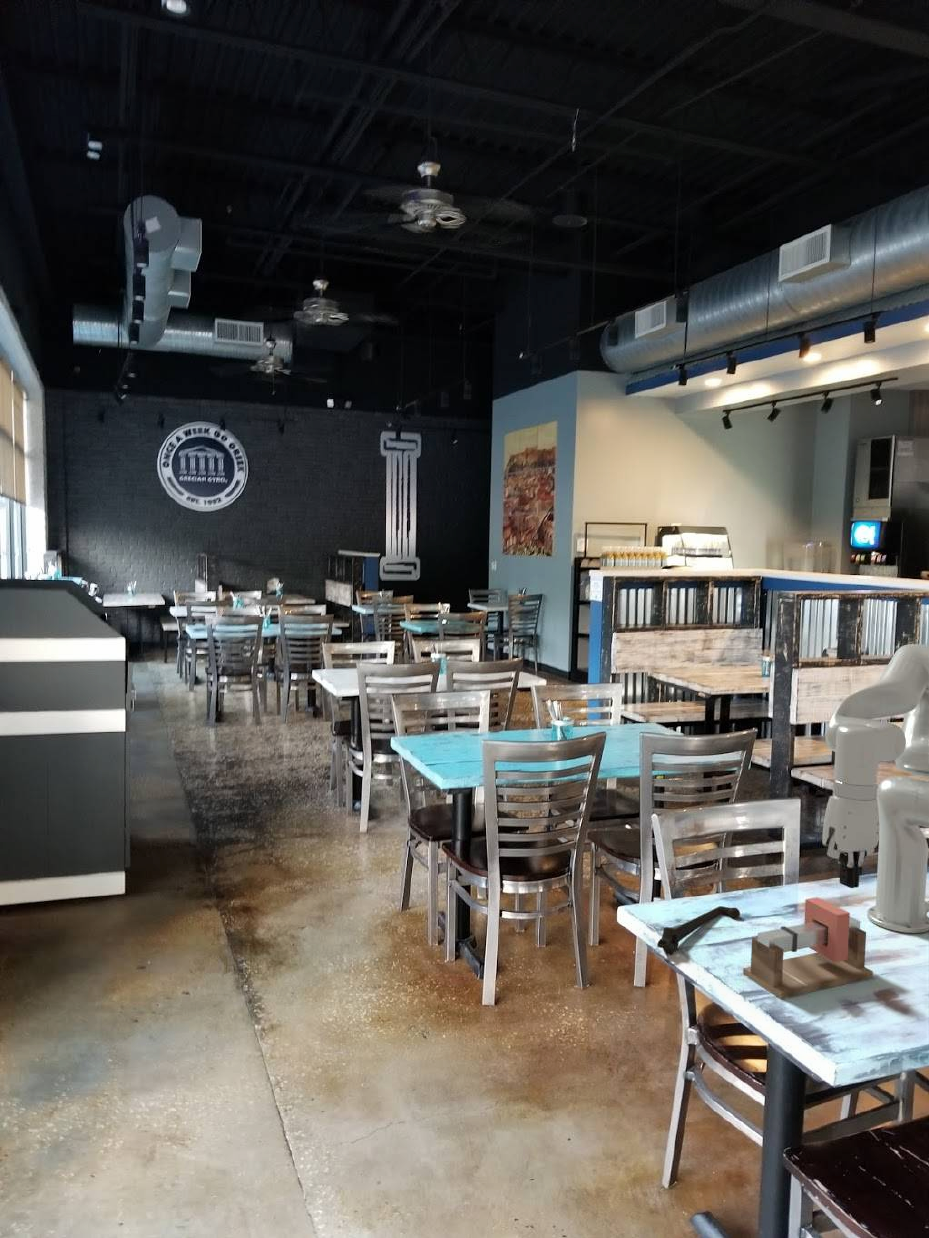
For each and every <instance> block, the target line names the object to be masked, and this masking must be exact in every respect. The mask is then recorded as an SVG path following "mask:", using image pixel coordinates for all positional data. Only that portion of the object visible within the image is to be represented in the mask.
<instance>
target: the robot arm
mask: <svg viewBox="0 0 929 1238" xmlns="http://www.w3.org/2000/svg"><path fill="white" fill-rule="evenodd" d="M901 715H904V717H903V721H902V724H901V727H900V726H899V725H897V724H895V723H891V722H887V721H881V720H875V719H882V718H888V717H895V716H901ZM824 733H825V735H824V737H825V743H826V746H828V748H829V750H830V751H832V752H834V753H835V754H834V766H833V768H834V771H833V785H832V786H833V787H832V795H830V796H829V798H828V801H827V804H826V809H825V814H824V820H823V828H822V841H821V842H822V845H823V846H824V847H827V851H826V855H827V856H828V857H830V858H832V859H836V860H837V862H838V863H837V864H840V867H839V868H840V869H839V884H841V885H843V886H845V887H847V888H850V889H855V888H859V885H860V870H861V867H862V866H863V865H864V860H865V858H867V856H869V855H871V854H873V853H874V852H875V848H877V846H878V855H877V857H878V858H877V874H876V892H875V905H874V906H871V907H869V908H868V909H867V915H866V917H867V918H868V919H869V921H870V922H872V923H873V924H874V925H877V926H879V927H881V928H884V929H887V930H890V931H894V932H898V933H906V934H921V933H925V932H928V931H929V916H928V913H929V900H928V901H926V893H927V891H926V890H927V876H928V874H927V873H928V872H927V871H928V859H929V857H928V855H929V846H928V845H929V844H928V842H927V839H926V836H925V835H924V833H923V831H922V830H921V827H923V828H929V780H924V779H917V778H913V777H908V776H901V775H899V776H896V775H894V776H888V777H886V778H884V779H882V780H881V781H880V783H879V784H878V771H879V770H878V769H879V763H880V762H885V763H886V762H889V763H890V762H893V761H894V762H895V765H896V768H898V769H899V770H900V771H901V772H902V773H903V772H904V773H906V774H910V775H914V776H918V777H923V778H927V779H928V778H929V644H924V643H923V644H921V643H909V644H905V645H903V646H900V647H899V648H898V649H897V650H896V651H895V652H894V654H893V656H892V657H891V659H890V661H889V663H888V664H887V666H886V667H885V669H884V671H883V673H882V675H881V677H880V678H879V680H878V682H877V683H875V684H872V685H869V686H866V687H864V688H862V689H860V690H858V691H856V692H854V693H851V694H850V695H848V696H847V697H845V698H844V699H842V700H841V701H840V703H839V704H838V705H837V707H836V709H835V710H834V711H833V714H831V716H830V718H829V721H828V723H827V725H826V728H825V732H824Z"/></svg>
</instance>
